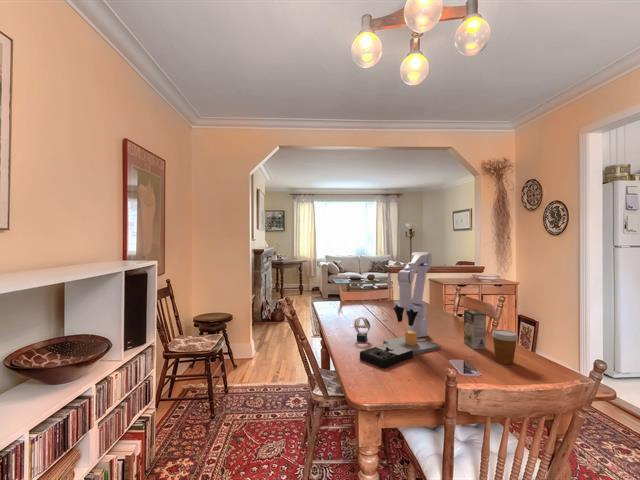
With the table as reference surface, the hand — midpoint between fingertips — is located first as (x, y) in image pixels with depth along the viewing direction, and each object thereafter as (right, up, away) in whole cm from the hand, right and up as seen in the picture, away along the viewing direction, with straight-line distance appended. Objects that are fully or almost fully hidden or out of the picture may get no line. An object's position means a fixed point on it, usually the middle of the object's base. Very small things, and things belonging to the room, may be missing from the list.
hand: (405, 323), depth 161 cm
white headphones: (-20, -10, +27) cm, 35 cm away
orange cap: (+1, -8, -5) cm, 9 cm away
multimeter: (-13, -10, -20) cm, 26 cm away
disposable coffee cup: (+35, -10, -23) cm, 43 cm away
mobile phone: (+16, -10, -30) cm, 35 cm away
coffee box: (+31, -10, -4) cm, 33 cm away
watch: (-20, -9, +5) cm, 23 cm away
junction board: (+2, -9, -4) cm, 10 cm away
